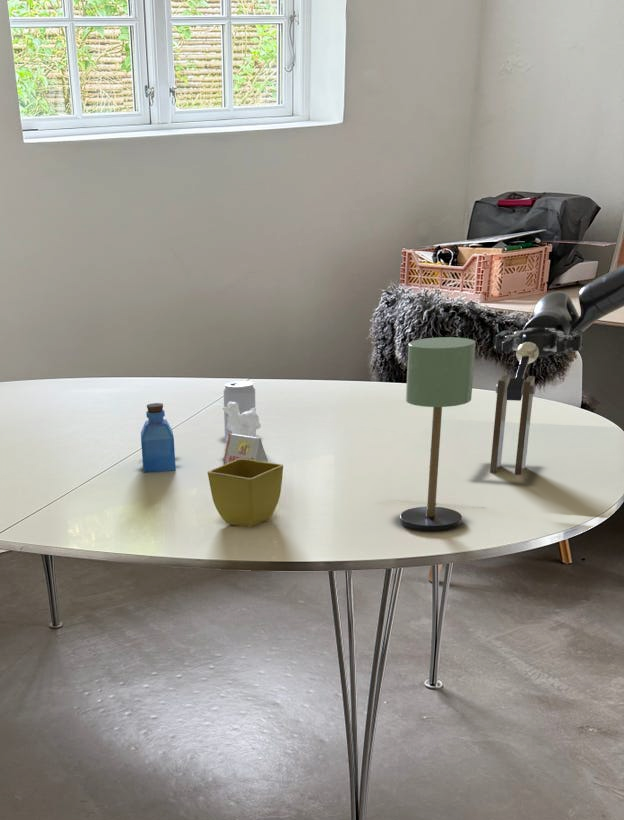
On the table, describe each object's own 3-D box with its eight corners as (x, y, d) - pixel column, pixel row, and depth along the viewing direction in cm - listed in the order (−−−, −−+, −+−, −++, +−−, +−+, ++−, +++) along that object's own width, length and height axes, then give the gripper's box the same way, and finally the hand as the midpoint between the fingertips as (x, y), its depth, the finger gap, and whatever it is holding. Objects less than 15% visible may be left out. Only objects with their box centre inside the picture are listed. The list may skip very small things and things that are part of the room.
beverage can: (229, 437, 200) (227, 380, 195) (259, 438, 198) (258, 380, 193) (221, 445, 195) (219, 386, 190) (252, 446, 193) (250, 386, 188)
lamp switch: (518, 355, 164) (518, 337, 162) (540, 355, 163) (541, 337, 160) (502, 403, 158) (502, 385, 155) (525, 404, 156) (525, 385, 153)
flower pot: (208, 525, 152) (205, 471, 148) (241, 510, 157) (239, 457, 153) (252, 535, 146) (251, 479, 142) (285, 519, 152) (285, 464, 148)
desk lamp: (442, 512, 149) (454, 335, 138) (472, 530, 142) (488, 343, 130) (389, 520, 148) (397, 341, 136) (417, 538, 140) (428, 350, 128)
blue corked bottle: (175, 470, 182) (171, 407, 176) (143, 472, 182) (138, 409, 176) (174, 461, 187) (170, 400, 182) (142, 463, 187) (138, 402, 182)
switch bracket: (488, 467, 169) (497, 371, 161) (536, 471, 165) (547, 372, 157) (476, 484, 161) (485, 383, 153) (526, 488, 157) (537, 385, 150)
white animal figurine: (234, 471, 178) (232, 407, 173) (212, 464, 183) (210, 402, 178) (268, 461, 182) (268, 398, 177) (246, 455, 187) (244, 394, 182)
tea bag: (237, 486, 169) (236, 431, 165) (268, 492, 165) (267, 435, 160) (224, 492, 167) (222, 435, 163) (254, 498, 163) (253, 440, 158)
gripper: (584, 353, 176) (573, 370, 164) (504, 352, 183) (488, 368, 170) (590, 311, 173) (579, 325, 161) (508, 311, 180) (491, 325, 167)
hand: (532, 347), depth 165 cm, fingers open, 8 cm apart
